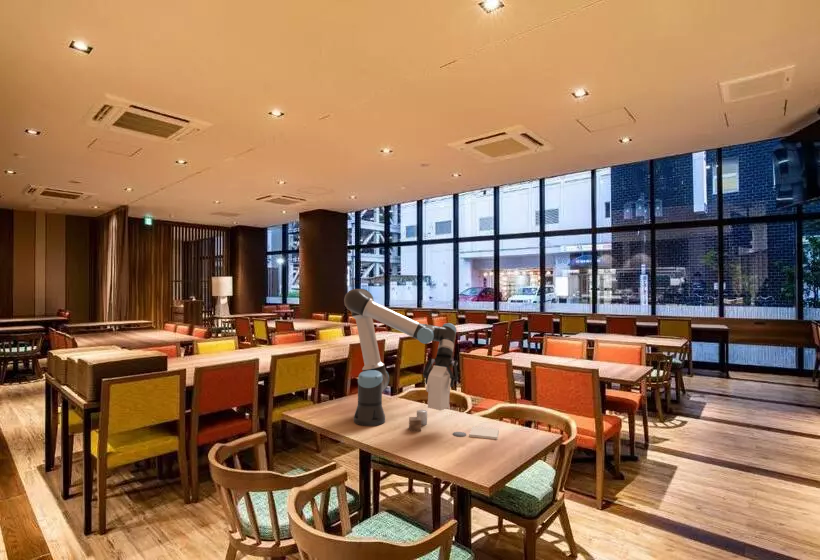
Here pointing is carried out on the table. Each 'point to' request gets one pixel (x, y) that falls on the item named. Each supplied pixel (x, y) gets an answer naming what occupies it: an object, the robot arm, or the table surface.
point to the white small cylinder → (422, 416)
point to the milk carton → (438, 388)
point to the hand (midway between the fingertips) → (437, 391)
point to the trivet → (484, 432)
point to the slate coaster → (459, 434)
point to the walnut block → (415, 423)
